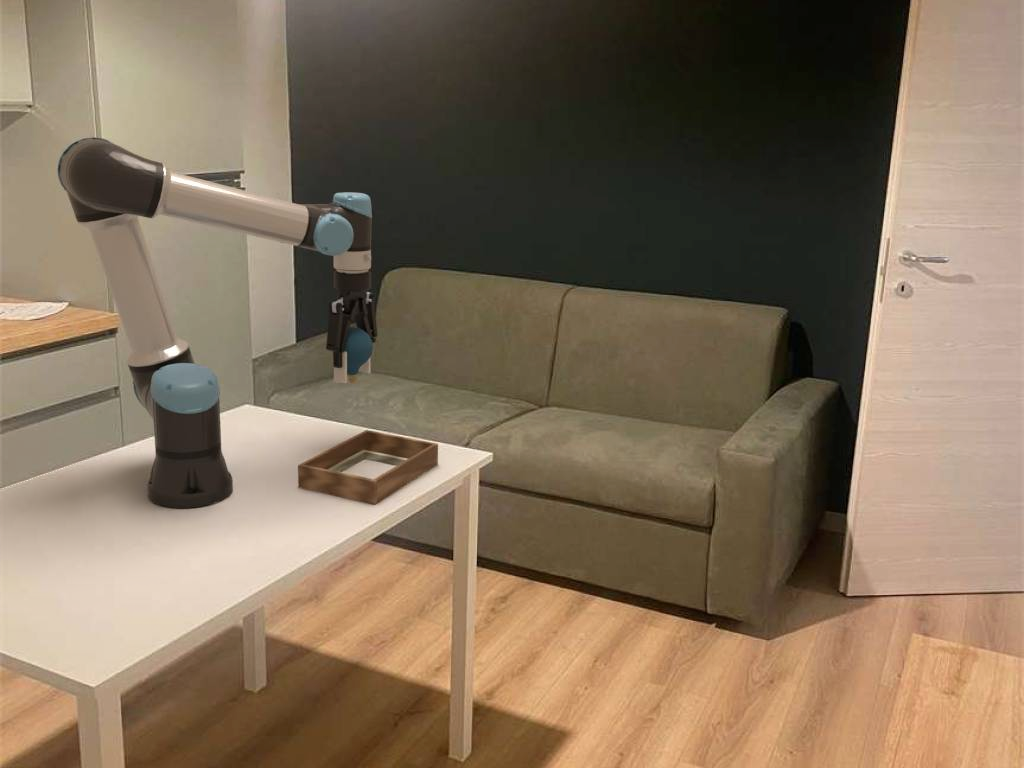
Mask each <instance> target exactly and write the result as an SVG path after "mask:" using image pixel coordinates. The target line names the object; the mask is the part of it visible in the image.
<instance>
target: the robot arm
mask: <svg viewBox="0 0 1024 768" xmlns="http://www.w3.org/2000/svg"><path fill="white" fill-rule="evenodd" d="M57 176H58V180H59V184H60V185H61V186H62V187H63V190H64V191H65V192H66V194H67V196H68V200H69V202H70V205H71V207H72V211H73V213H74V214H73V215H74V217H75V219H76V221H77V223H78V225H81V226H82V227H84V228H86V229H88V230H89V232H90V235H91V237H92V240H93V243H94V246H95V247H94V248H95V250H96V253H97V256H98V258H99V260H100V264H101V266H102V269H103V272H104V275H105V278H106V281H107V283H108V284H107V285H108V287H109V289H110V291H111V295H112V298H113V300H114V303H115V306H116V309H117V312H118V315H119V318H120V321H121V324H122V326H123V328H124V332H125V335H126V338H127V341H128V344H129V347H130V349H131V351H130V354H129V356H128V357H127V358H126V364H127V366H128V368H129V372H130V375H131V377H132V385H133V392H134V395H135V397H136V398H137V401H138V402H139V403H140V405H141V406H142V407H143V408H144V409H145V410H146V412H148V414H149V416H150V417H151V419H152V422H153V434H154V446H155V449H154V450H155V451H154V452H155V457H154V461H153V465H152V467H151V472H150V475H149V476H150V477H149V479H148V481H147V497H148V499H149V500H150V502H152V503H154V504H156V505H158V506H162V507H168V508H174V509H175V508H177V509H178V508H180V509H181V508H182V509H184V508H185V509H187V508H197V507H198V508H199V507H203V506H210V505H213V504H217V503H219V502H221V501H223V500H225V499H227V498H228V497H230V496H231V495H232V494H233V491H234V484H233V483H234V482H233V481H234V480H233V476H232V474H231V472H230V471H229V470H228V466H227V463H226V459H225V456H224V454H223V451H222V431H221V427H222V426H221V406H220V405H221V403H220V395H221V389H220V385H219V379H218V376H217V374H216V373H215V371H214V370H212V369H211V368H209V367H207V366H205V365H199V364H197V363H195V360H194V358H193V354H192V350H191V349H190V345H189V343H188V342H187V341H185V340H183V339H181V338H179V337H178V336H177V335H178V334H177V333H176V329H175V326H174V323H173V321H172V317H171V314H170V311H169V308H168V305H167V302H166V300H165V296H164V293H163V292H164V291H162V290H163V289H162V287H161V284H160V281H159V278H158V275H157V272H156V269H155V265H154V262H153V259H152V257H151V254H150V250H149V248H148V244H147V240H146V238H145V236H144V233H143V229H142V226H141V223H140V220H139V217H143V218H147V219H154V218H156V217H158V216H160V215H162V216H165V217H170V218H174V219H180V220H183V221H188V222H191V223H196V224H199V225H205V226H208V227H209V226H210V227H213V228H218V229H221V230H227V231H230V232H236V233H240V234H243V235H248V236H252V237H256V238H261V239H265V240H270V241H274V242H279V243H281V244H287V245H291V246H295V247H299V248H303V249H308V250H312V251H315V252H319V253H320V254H323V255H326V256H333V268H334V269H335V271H334V272H333V287H334V289H336V290H337V291H338V297H337V300H336V301H329V302H328V313H329V314H328V315H329V316H328V325H327V334H326V345H325V349H326V350H327V351H328V352H332V353H333V355H332V362H333V365H332V366H333V383H334V382H335V383H340V384H346V383H348V373H347V352H344V350H345V345H346V341H347V337H348V333H349V329H350V327H351V323H352V322H353V321H354V322H355V325H356V326H355V327H356V328H360V329H362V330H364V331H365V332H366V333H367V334H368V335H369V336H370V338H371V340H372V344H374V343H376V341H377V338H378V328H377V327H378V326H377V317H376V316H377V315H376V308H375V302H376V301H375V300H376V294H375V292H369V290H370V289H371V287H372V272H371V271H370V269H371V267H372V219H373V215H372V212H373V211H372V201H371V197H370V196H369V195H368V194H365V193H362V192H350V191H349V192H348V191H347V192H345V191H344V192H336V193H335V194H333V199H332V202H331V203H330V202H329V203H326V204H324V203H323V204H321V203H318V204H316V203H314V204H313V203H312V204H311V203H307V204H306V203H305V204H304V203H302V204H301V203H300V204H298V203H294V202H291V201H286V200H282V199H278V198H276V197H272V196H267V195H263V194H259V193H256V192H251V191H248V190H244V189H239V188H237V187H233V186H228V185H224V184H220V183H217V182H213V181H209V180H205V179H202V178H197V177H193V176H189V175H186V174H181V173H178V172H175V171H170V170H168V168H167V166H166V165H165V163H163V162H159V161H156V160H151V159H149V158H145V157H144V156H140V155H138V154H137V153H133V152H131V151H130V150H128V149H126V148H124V147H122V146H120V145H118V144H115V143H114V142H112V141H111V140H108V139H106V138H102V137H96V136H92V137H91V136H90V137H83V138H81V139H78V140H77V139H76V140H75V141H73V142H72V143H70V144H69V145H68V146H66V148H65V149H63V151H62V153H61V155H60V156H59V159H58V164H57ZM371 357H372V356H371ZM371 357H370V358H369V360H368V361H367V362H366V363H364V364H363V365H362V366H361V367H360V368H359V372H358V373H362V374H371V370H372V369H371V367H372V366H371Z"/></svg>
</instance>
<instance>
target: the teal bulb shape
mask: <svg viewBox="0 0 1024 768" xmlns="http://www.w3.org/2000/svg"><path fill="white" fill-rule="evenodd" d="M373 344H374V343H372V340H371V338H370V336H369V335H368V334H367V333H366V332H365V331H364V330H362V329H360V328H357V326H350V329H349V333H348V337H347V341H346V345H345V350H344V352H347V382H349V383H350V384H355V383H357V381H358V376H357V375H358V374H359V373H360V372H359V368H360V367H361V366H362V365H363V364H364V363H366V362H367V361H368V360H369V358H370V357H372V354H373V348H374V345H373Z"/></svg>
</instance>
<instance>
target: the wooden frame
mask: <svg viewBox="0 0 1024 768" xmlns="http://www.w3.org/2000/svg"><path fill="white" fill-rule="evenodd" d="M364 460H368V461H374V462H380V463H384V464H389V465H393V467H392V468H391V469H389V470H387V471H386V472H384V473H382V474H380V475H379V476H377V477H375V478H370V477H366V476H361V475H356V474H353V473H352V474H351V473H347V472H344V471H346V470H348V469H349V468H351V467H354V465H356V464H359V463H360V462H362V461H364ZM438 464H439V443H436V442H431V441H426V440H422V439H421V440H420V439H415V438H411V437H410V438H409V437H404V436H400V435H394V434H389V433H384V432H378V431H373V430H368V429H365V430H363V431H362V432H360V433H358V434H356V435H354V436H352V437H350V438H348V439H346V440H344V441H342V442H341V443H338V444H336V445H335V446H333V447H330V448H328V449H327V450H325V451H323V452H320V453H319V454H317V455H315V456H313V457H312V458H309V459H307V460H305V461H304V462H301V463H299V464H298V465H297V479H298V481H297V483H298V484H297V485H298V488H299V489H303V490H308V491H313V492H316V493H322V494H326V495H331V496H334V497H335V496H336V497H339V498H344V499H348V500H353V501H357V502H362V503H366V504H371V505H377V504H378V503H379V502H381V501H383V500H384V499H386V498H387V497H389V496H391V495H392V494H394V493H396V492H397V491H399V490H400V489H402V488H403V487H405V486H406V485H408V484H410V483H411V482H413V481H414V480H416V479H418V478H419V477H421V476H422V475H424V474H425V473H427V472H429V471H430V470H432V469H433V468H435V467H436V466H438ZM434 466H435V467H434ZM431 468H432V469H431ZM426 471H427V472H426ZM424 472H425V473H424ZM423 473H424V474H423ZM420 475H421V476H420ZM418 476H419V477H418ZM415 478H416V479H415ZM412 480H413V481H412ZM410 481H411V482H410ZM409 482H410V483H409ZM407 483H408V484H407ZM404 485H405V486H404ZM401 487H402V488H401ZM398 489H399V490H398ZM396 490H397V491H396Z"/></svg>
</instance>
